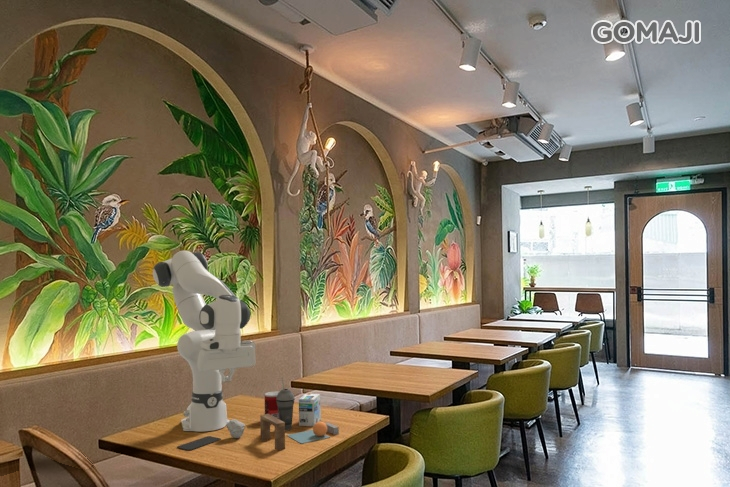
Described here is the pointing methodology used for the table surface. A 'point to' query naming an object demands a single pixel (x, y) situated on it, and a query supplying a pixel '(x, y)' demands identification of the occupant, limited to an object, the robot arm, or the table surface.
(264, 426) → the bridge
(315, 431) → the ball
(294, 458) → the table surface
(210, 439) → the phone
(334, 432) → the wall
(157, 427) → the table surface
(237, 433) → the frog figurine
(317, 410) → the light bulb box
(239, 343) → the robot arm
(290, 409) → the beverage cup
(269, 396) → the canned food
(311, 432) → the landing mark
